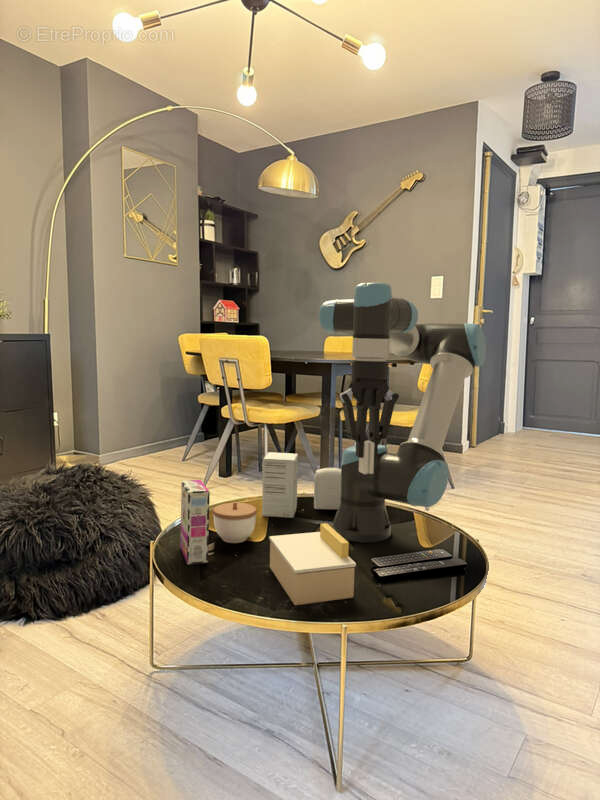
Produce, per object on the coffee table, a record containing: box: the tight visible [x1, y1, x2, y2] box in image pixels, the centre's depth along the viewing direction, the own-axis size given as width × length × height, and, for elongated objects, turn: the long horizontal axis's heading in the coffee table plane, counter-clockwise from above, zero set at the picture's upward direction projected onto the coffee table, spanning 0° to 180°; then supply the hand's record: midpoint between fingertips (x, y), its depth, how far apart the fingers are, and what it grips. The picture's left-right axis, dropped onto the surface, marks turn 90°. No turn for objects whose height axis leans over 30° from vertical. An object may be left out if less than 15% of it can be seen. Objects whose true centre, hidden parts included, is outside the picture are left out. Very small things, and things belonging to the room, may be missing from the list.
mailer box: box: [269, 540, 355, 606], centre depth 110 cm, size 12×18×6 cm, turn 18°
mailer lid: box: [268, 522, 357, 573], centre depth 110 cm, size 12×18×4 cm
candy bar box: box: [180, 479, 210, 566], centre depth 122 cm, size 11×5×16 cm, turn 21°
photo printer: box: [313, 467, 341, 510], centre depth 160 cm, size 10×4×12 cm, turn 88°
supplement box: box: [261, 451, 299, 519], centre depth 155 cm, size 10×9×17 cm
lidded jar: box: [212, 501, 257, 544], centre depth 133 cm, size 11×11×9 cm
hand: (365, 472), depth 112 cm, fingers closed
